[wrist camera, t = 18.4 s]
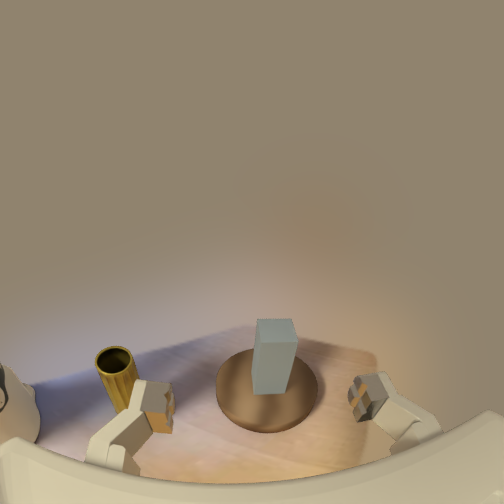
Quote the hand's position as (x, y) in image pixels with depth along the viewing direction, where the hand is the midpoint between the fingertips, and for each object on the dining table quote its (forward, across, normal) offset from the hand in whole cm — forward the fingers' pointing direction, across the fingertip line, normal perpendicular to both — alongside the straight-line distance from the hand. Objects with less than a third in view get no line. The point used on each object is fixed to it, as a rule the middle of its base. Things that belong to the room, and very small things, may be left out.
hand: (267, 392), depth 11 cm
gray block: (+21, -6, +27) cm, 35 cm away
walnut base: (+21, -6, +30) cm, 37 cm away
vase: (+15, +16, +30) cm, 37 cm away
